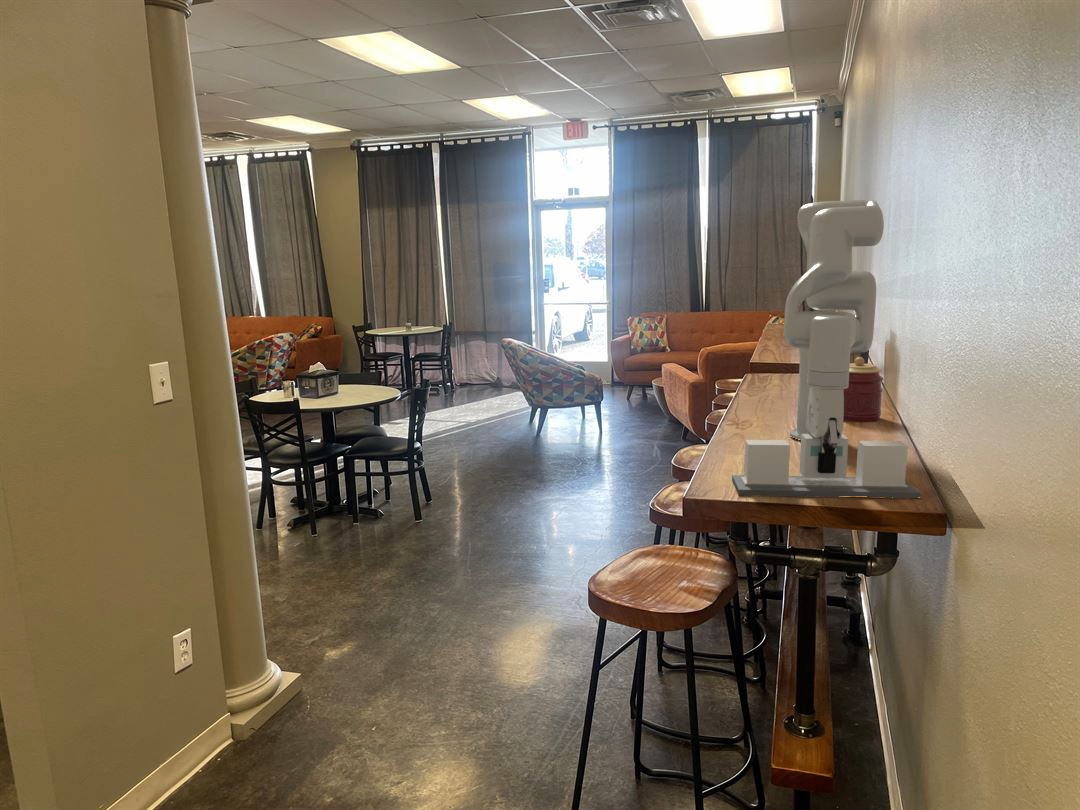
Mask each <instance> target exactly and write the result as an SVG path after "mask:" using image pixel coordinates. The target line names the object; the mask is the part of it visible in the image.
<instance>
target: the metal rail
mask: <svg viewBox="0 0 1080 810" xmlns="http://www.w3.org/2000/svg"><path fill="white" fill-rule="evenodd" d="M741 479H742V481H743V483H744V485H745V486H779V487H838V488H897V489H908V486H907V485H906V484H905V486H880V485H861V484H860V483H859V482H858V481H857V480H856V479H855V478H790V477H789V479H788V484H759V483H747V482H746V480H745V478H744V477H741Z"/></svg>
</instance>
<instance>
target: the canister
mask: <svg viewBox="0 0 1080 810" xmlns="http://www.w3.org/2000/svg"><path fill="white" fill-rule="evenodd" d="M881 372H882V371H881V368H879V367H877V365H875V364H870V363H865V359H864V358H863V357H862V356H858V357H856V358H855V359H854V362H853V363H851V362H850V368H849V384H848V388H846V389H844V416H843V421H845V420H846V422H854V423H855V422H856V423H870V422H872V423H873V422H877V421H879V420H880V418H881V416H882V398H883V397H882V396H883V395H882V394H883V391H884V390H883V388H882V382H883V381H884V377H883V376H881V375H880V373H881Z"/></svg>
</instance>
